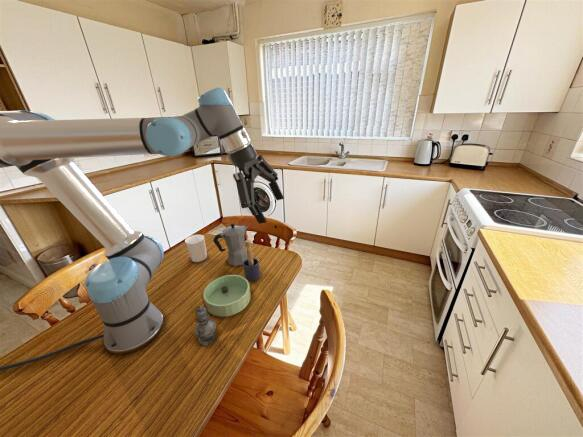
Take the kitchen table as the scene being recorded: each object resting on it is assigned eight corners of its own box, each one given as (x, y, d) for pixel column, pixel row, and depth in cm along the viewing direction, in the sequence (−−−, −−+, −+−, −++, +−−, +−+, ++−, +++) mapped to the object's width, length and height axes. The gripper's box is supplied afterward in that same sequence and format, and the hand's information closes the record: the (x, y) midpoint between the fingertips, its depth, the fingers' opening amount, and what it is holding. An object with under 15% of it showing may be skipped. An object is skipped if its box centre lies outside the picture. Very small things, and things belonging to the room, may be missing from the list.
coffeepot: (246, 250, 112) (241, 215, 104) (256, 259, 105) (252, 222, 97) (214, 263, 103) (207, 226, 95) (223, 274, 96) (216, 235, 89)
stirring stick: (251, 278, 93) (246, 242, 86) (249, 275, 94) (244, 240, 87) (256, 276, 93) (251, 241, 87) (253, 273, 95) (249, 239, 88)
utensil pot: (248, 284, 90) (246, 269, 87) (242, 275, 95) (240, 261, 92) (262, 278, 93) (261, 263, 90) (256, 270, 98) (254, 256, 95)
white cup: (212, 256, 108) (208, 237, 104) (197, 265, 102) (192, 245, 98) (200, 251, 112) (196, 232, 108) (186, 260, 106) (181, 240, 102)
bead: (222, 295, 84) (221, 290, 83) (220, 291, 86) (219, 286, 85) (229, 292, 85) (228, 287, 84) (227, 288, 87) (226, 283, 86)
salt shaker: (211, 347, 67) (203, 316, 62) (193, 344, 68) (183, 313, 63) (221, 330, 72) (214, 299, 67) (203, 327, 73) (195, 297, 68)
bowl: (212, 325, 74) (209, 313, 71) (201, 295, 85) (198, 284, 83) (257, 304, 81) (256, 293, 78) (241, 280, 92) (240, 269, 90)
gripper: (224, 162, 56) (264, 232, 65) (268, 130, 74) (295, 188, 84) (203, 170, 60) (244, 235, 69) (250, 138, 78) (277, 193, 88)
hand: (272, 210), depth 76 cm, fingers open, 13 cm apart
